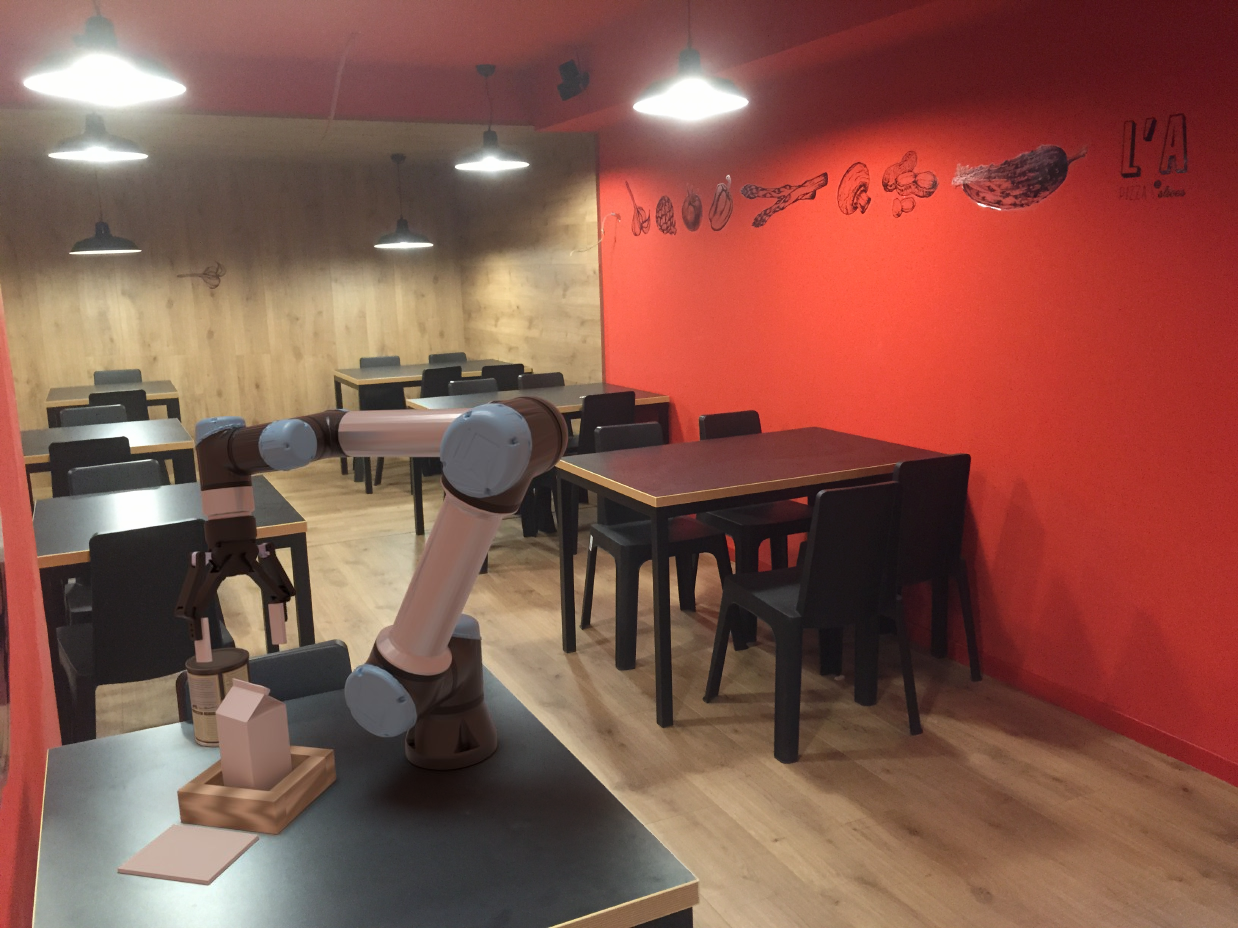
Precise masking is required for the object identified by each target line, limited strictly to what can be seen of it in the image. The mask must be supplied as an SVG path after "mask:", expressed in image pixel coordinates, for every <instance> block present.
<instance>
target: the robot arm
mask: <svg viewBox="0 0 1238 928" xmlns="http://www.w3.org/2000/svg"><path fill="white" fill-rule="evenodd" d="M194 428H195V429H194V434H195V436H194V437H195V442H194V443H195V445H194V449H195V452H196V458H197V459H196V460H197V469H198V478H199V485H200V497H201V507H202V514H203V516H204V517H207V520H205V521H204V522H203V528H204V537H205V538H204V539H205V542H206V544H207V547H208V548H207V552H205V551H204V550H202V551H192V552H190V553H189V554H188V568H187V572H186V575H185V579H184V580H183V584H182V588H181V589H180V593H179V596H178V599H177V602H176V605H175V607H174V612H173V614H174V616H175V617H177V618H183V619H184V620H187V622H188V623H187V625H188V633H189V634H188V635H189V640H190V642H194V649H195V655H196V661H197V662H211V661H212V654H211V650H212V647H211V646H212V645H211V635H210V624H209V617H203V616H204V614H205V612H206V610H207V609H208V607H209V605H211V604H210V603H211V602H212V600H213V599H214V596H215V595H216V593H217V592H218V590H219V588H220V586H221V585H222V582H223V581H225V580H226V579H227V578H233V577H237V576H247V577H249V578H250V579H251V580H252V581H253V583H255V584H256V586H258V588H259V589H260V590H261V591H262V592H263V594H265V595H266V596H267V597H268V599H270V601H272V603H269V604H268V615H269V626H270V633H271V635H270V636H271V644H272V645H286V644H288V640H287V639H288V638H287V631H286V630H287V629H286V622H288V620H289V617H288V609H287V608H288V607H287V606H288V605H287V603H288V602H290V601H291V599H292V598H293V597H295V596H296V595H297V590H296V588H295V586H294V585H293V583H292V581H291V580H290V578H289V576H288V574H287V572H286V570H285V569H284V566H283V565H282V563H281V561H280V559H279V558H278V556H277V552H276V546H275V544H274V542H262V543H259V545H258V544H257V542H256V541H257V540H256V539H257V537H258V529H257V522H256V521H257V518H256V517H255V516H254V515H252V513H253V512H254V511H256V508H255V507H256V506H255V497H254V492H253V491H254V490H253V481H252V475H257V474H265V473H273V472H281V471H282V472H290V471H292V470H296V469H301V468H304V467H306V466H308V465H309V464H310V463H315V462H317V461H321V460H325V459H330V458H354V457H355V458H360V457H361V458H368V457H369V458H371V457H372V458H439V461H440V462H441V463H442V466H443V467H442V471H443V472H442V474H441V476H440V479H439V480H440V485H441V488H442V489H443V490H444V492H445V496H444V499H443V501H442V504H441V507H440V508H439V511H438V514H437V516H436V518H435V521H434V523H433V525H432V528H431V531H430V533H429V536H428V538H427V541H426V543H425V546H424V548H423V550H422V553H421V555H420V558H419V560H418V562H417V564H416V568H415V569H414V572H413V575H412V578H411V580H410V582H409V585H408V588H407V589H406V592H405V595H404V598H403V599H402V601H401V605H400V606H399V609H398V611H397V614H396V616H395V619H394V622H393V624H390V625H387V626H385V627H383V628H382V629H380V631H379V632H378V634H377V636H376V638H375V640H374V643H373V645H372V648H371V650H370V653H369V656H368V657H367V659H366V661H365V662H364V663H363V664H360V665H358V666H355V668H354V669H353V671H352V672H351V673H350V674H349V675H348V677H347V679H346V681H345V685H344V698H345V702H346V706H347V707H348V709H349V710H350V714H351V716H352V718H354V720H355V721H356V722H357V723H358V724H359V726H361V727H362V728H363V729H364V730H366V731H367V732H369V733H370V734H372V735H375V736H377V737H381V738H393V737H397V736H399V735H402V734H403V733H405V732H406V735H405V738H404V739H405V743H404V747H405V755H406V759H407V760H408V761H409V762H410V763H411V764H413V765H415V766H416V767H420V768H423V769H427V770H436V771H441V770H442V771H444V770H445V771H446V770H455V769H457V770H458V769H463V768H466V767H469V766H473V765H476V764H479V763H481V762H482V761H485V760H486V759H489V757H491V755H493V754H494V753H495V751H497V747H498V733H497V728H496V725H495V724H494V721H493V719H492V716H491V714H490V711H489V709H488V707H487V704H486V701H485V692H484V689H485V688H484V672H483V669H484V668H483V653H482V652H483V651H482V640H483V637H482V636H481V628H480V623H479V621H478V620H477V619H476V618H475V617H474V616H472V615H469V614H467V613H463V611H464V609H465V606H466V603H467V602H468V599H469V597H470V594H471V592H472V590H473V588H474V585H475V583H476V581H477V578H478V576H479V574H480V572H481V570H482V567H483V564H484V563H485V559H486V557H487V556H488V553H489V551H490V548H491V545H492V544H493V541H494V539H495V537H496V534H497V533H498V531H499V528H500V525H501V523H502V520H503V519H504V518H505V517H507V516H511V515H514V514H515V513H517V512H518V510H519V509H520V507H521V505H522V503H523V500H524V498H525V496H526V493H527V492H528V488H529V487H530V484H531V483H532V480H533V478H535V477H537V476H540V475H542V474H544V473H546V472H549V471H550V470H551V469H553V468H554V467H555V466H556V465H558V463H559V462H560V460H561V459H562V458H563V456H564V454H565V452H566V451H567V446H568V443H569V430H568V428H569V427H568V425H567V422H566V419H565V418H564V415H563V414H562V413H561V411H560V410H559V408H557V406H555V404H553V403H552V402H550V401H549V400H547V399H545V398H542V397H539V396H532V395H524V396H518V397H514V398H510V399H504V400H503V399H502V400H491V401H489V402H487V403H485V404H480V405H478V406H475V407H461V408H459V407H458V408H423V409H421V408H420V409H419V408H418V409H417V408H415V409H414V408H413V409H381V410H349V409H346V408H341V409H340V408H333V409H327V410H326V409H325V410H324V411H322V412H321V411H320V412H317V413H312V414H307V415H300V416H296V417H290V418H284V419H277V420H274V421H270V422H265V423H259V424H256V425H254V424H253V425H250V426H247V424H246V420H245V419H244V418H243V417H241V416H239V415H238V416H236V415H234V416H233V415H225V416H224V415H223V416H215V417H207V418H202V419H200V420H198V421H197V422H196V424H195V427H194ZM258 557H259V558H260V559H261V562H262V564H263V566H264V567H263V566H262V564H261V563H259V561H258V560H257V559H258ZM208 564H210V565H211V566H210V568H209V570H208V571H207V573H206V575H204V574H205V571H206V567H207V565H208ZM264 569H266V571H267V572H266V571H265V570H264ZM267 573H268V574H267ZM204 576H205V577H206V579H205V580H204V582H203V583H202V580H203V578H204ZM201 584H202V585H201Z"/></svg>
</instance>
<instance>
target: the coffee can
mask: <svg viewBox="0 0 1238 928" xmlns="http://www.w3.org/2000/svg"><path fill="white" fill-rule="evenodd" d="M211 654H212V661H211V662H197V661H196V654H194V655H192V657H189V658H188V659H187V660H186V661H185V664H184V665H185V669H186V674H187V682H188V690H189V698H190V707H191V714H192V722H193V728H194V729H193V731H194V736H195V737H194V740H195V743H196V744H199V745H200V746H203V747H210V748H211V747H212V748H213V747H215V748H217V747H219V739H218V730H217V721H216V713H215V712H216V711H217V709H218V708H219V706H220V705H221V703H222V702H223V700H224V699H225V697H226V695H227V694H228V692H229V691H230V689H231V688H232V686H233V681H232V679H238V680H241V681H245V682H248V683H252V676H251V666H250V652H249V651H248V650H247V649H245V648H242V647H241V648H240V647H221V648H220V647H219V648H214V649H211ZM252 684H253V683H252Z"/></svg>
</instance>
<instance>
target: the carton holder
mask: <svg viewBox="0 0 1238 928" xmlns="http://www.w3.org/2000/svg"><path fill="white" fill-rule="evenodd" d="M334 750H335V749H332V748H318V747H309V746H302V745H301V746H299V745H290V752H291V762H292V772H291V773H290V774H289V775H288V776H286V777H285V778H284V779H283V780H282V781H281V782H279V783H278V784H277V785H276V786H275V787H274V788H272V789H271V790H270V791H261V790H252V789H243V788H234V787H225V786H224V783H223V774H222V766H221V758H220V759H218V760H217V761H216V762H214V763H213V764H211V765H210V766H209V767H208V768H206V769H205V770H204V771H202V772H201V773H199V774H198V775H197V776H196V777H194V778H193V779H191V780H190V781H188V782H187V783H186V784H185V785H184V786H182V787H180V788H179V789H178V790H177V791H176V793H177V801H178V810H179V817H180V818H179V819H180V823H182V824H190V825H198V826H206V827H215V828H223V829H229V830H230V829H231V830H239V831H246V832H254V833H265V834H271V835H279V834H280V833H281V832H282V831H283V830H284V829H285V828H286V827H287V826H288V825H289V824H290V823H291V822H292V821H294V820H295V818H296V817H298V816H299V815H300V813H302V812H303V811H304V810H305V809H306V808H308V806H309V805H311V804H312V803H313V801H315V800H316V799H317V798H318V797H319V796H320V795H321V794H322V793H323V792H324V791H325V790H326V789H327V788H329V786H330V785H332V784H333V783H334V782H335V781H336V780H337V774H336V773H337V771H336V762H335V761H336V760H335V751H334Z"/></svg>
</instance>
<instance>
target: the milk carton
mask: <svg viewBox="0 0 1238 928" xmlns="http://www.w3.org/2000/svg"><path fill="white" fill-rule="evenodd" d="M232 681H233V686H232V688H231V689H230V691H229V692H228V694H227V695H226V697H225V699H224V700H223V702H222V703H221V705H220V706H219V708H218V709H217V711H216V712H215V713H216V721H217V730H218V739H219V746H218V747H219V755H220V759H221V766H222V774H223V783H224V786H225V787H234V788H243V789H252V790H261V791H270V790H271V789H272V788H274V787H275V786H276V785H277V784H278V783H279V782H281V781H282V780H283V779H284V778H285V777H286V776H288V775H289V774H290V773H291V772H292V762H291V752H290V746H291V744H290V743H291V742H290V733H289V724H288V723H289V722H288V714H287V713H288V712H287V705H286V703H284V702H282V701H280V700H279V699H276V698H275V697H272V696H270V693H271V689H270V688H268V687H266V686H263V685H260V684H256V683H248V682H245V681H241V680H238V679H232Z"/></svg>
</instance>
